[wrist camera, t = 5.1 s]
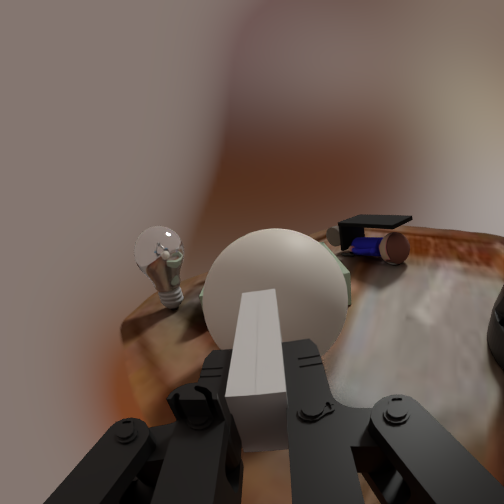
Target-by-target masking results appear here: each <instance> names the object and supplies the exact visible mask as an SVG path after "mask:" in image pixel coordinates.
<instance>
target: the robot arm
mask: <svg viewBox="0 0 504 504" xmlns="http://www.w3.org/2000/svg"><path fill="white" fill-rule="evenodd" d="M487 337H488V343H489V347H490V350H491V352H492V354H493V356H494V358H495V359H496V361H497V362H498V363H499V365H500V366H501V367H502V368H503V370H504V285H503V287H502V289H501V292H500V294H499V296H498V298H497V300H496V302H495V304H494V307H493V310H492V314H491V318H490V322H489V326H488V332H487ZM167 402H168V404H169V406H170V408H171V410H172V412H173V414H174V416H175V417H176V419H177V420H176V422H174V423H171V424H167V425H162V426H156V427H150V428H148V426H147V425H146V423H145V422H144V421H142V420H140V419H136V418H127V419H122V420H120V421H118V422H116V423H115V424H113V425H112V426H111V427H110V428H109V429H108V430H107V432H106V433H105V434H104V435H103V436H102V437H101V438H100V439H99V441H98V442H97V443H96V444H95V445H94V446H93V448H92V449H91V450H90V451H89V452H88V453H87V454H86V456H85V457H84V458H83V459H82V460H81V461H80V462H79V464H78V465H77V466H76V467H75V468H74V469H73V470H72V472H71V473H70V474H69V475H68V476H67V477H66V478H65V480H64V481H63V482H62V483H61V484H60V485H59V486H58V487H57V489H56V490H55V491H54V492H53V493H52V494H51V495H50V497H49V498H48V499H47V500H46V501H45V502H44V503H43V504H241V497H242V483H243V468H244V466H243V461H242V459H241V446H242V448H243V450H244V452H260V451H273V450H283V449H289V458H290V473H291V489H292V504H365V503H364V499H363V495H362V491H361V487H360V482H359V478H358V474H357V473H362V475H363V477H364V478H365V480H366V481H367V483H368V484H369V486H370V487H371V489H372V491H373V492H374V494H375V495H376V497H377V498H378V500H379V501H380V503H381V504H504V487H503V486H502V485H501V484H500V483H499V482H498V481H497V480H496V479H495V478H494V477H493V476H492V475H491V474H490V473H489V472H488V471H487V470H486V469H485V468H484V467H483V466H482V465H481V464H480V463H479V462H478V461H477V460H476V459H475V458H474V457H473V456H472V455H471V454H470V453H469V452H468V451H467V450H466V449H465V448H464V447H463V446H462V445H461V444H460V443H459V442H458V441H457V440H456V439H455V438H454V437H453V436H452V435H451V434H450V433H449V432H448V431H447V430H446V429H445V428H444V427H443V426H442V425H441V424H440V423H439V422H438V421H437V420H436V419H435V418H434V417H433V416H432V415H431V414H430V413H429V412H428V411H427V410H426V409H425V408H424V407H423V406H421V405H420V404H419V403H418V402H417V401H416V400H414V399H413V398H411V397H409V396H405V395H390V396H387V397H384V398H382V399H381V400H379V401H378V402H377V403H376V404H375V405H374V407H373V408H351V407H347V406H344V405H342V404H340V403H339V402H337V401H336V400H335V399H334V398H333V396H332V394H331V391H330V388H329V384H328V381H327V377H326V374H325V370H324V367H323V364H322V360H321V357H320V353H319V350H318V347H317V345H316V344H315V343H314V342H313V341H311V340H310V339H302V340H295V341H289V342H282V336H281V328H280V321H279V313H278V306H277V298H276V291H275V289H269V290H262V291H254V292H246V293H242V297H241V303H240V309H239V315H238V321H237V327H236V333H235V339H234V345H233V349H225V350H213V351H212V352H211V353H210V354H209V355H208V356H207V357H206V358H205V360H204V363H203V367H202V370H201V373H200V378H199V380H198V383H189V384H185V385H183V386H180V387H178V388H176V389H175V390H174V391H172V392H171V393H170V394H169V396H168V397H167Z"/></svg>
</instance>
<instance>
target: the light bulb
mask: <svg viewBox="0 0 504 504" xmlns="http://www.w3.org/2000/svg"><path fill="white" fill-rule="evenodd" d="M134 256H135V261H136V263H137V266H138V267H139V268H140V270H141V271H142V272H143V273H144V274H145V275H146V276H147V277H148V278H149V279H150V280H151V281H152V283H153V285H154V287H155V289H156V290H157V291H158V294H159V296H160V299H161V303H162V304H163V305H164V306H166V307H167V308H170V309H172V310H174V309H177V308H178V307H179V305H180V304H181V302H182V300H183V295H182V292H181V288H180V287H179V286H180V270H181V266H182V263H183V259H184V246H183V243H182V241H181V239H180V237H179V236H178V235H177V234H176V233H175V232H174V231H173V230H171V229H169V228H167V227H164V226H154V227H151V228H149V229H146V230H145V231H143V232H142V234H141V235H140V236H139V238H138V239H137V241H136V243H135V248H134Z"/></svg>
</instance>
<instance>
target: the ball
mask: <svg viewBox="0 0 504 504" xmlns="http://www.w3.org/2000/svg"><path fill="white" fill-rule="evenodd" d="M269 289H275V291H276V298H277V306H278V313H279V321H280V328H281V336H282V342H289V341H295V340H302V339H310V340H311V341H313V342H314V343H315V344H316V345H317V347H318V350H319V353H320V357H321V356H323V355H324V354H325V353H326V352H327V351H328V350H329V349H330V347H331V346H332V345H333V344H334V342H335V341H336V339H337V338H338V336H339V334H340V332H341V330H342V328H343V325H344V322H345V319H346V314H347V309H348V294H347V286H346V282H345V278H344V276H343V273H342V271H341V269H340V267H339V265H338V263H337V262H336V260H335V258H334V257H333V256H332V255H331V254H330V252H329V251H328V250H327V249H326V248H325V247H323V246H322V245H321V244H320V243H319V242H317V241H315V240H314V239H312V238H311V237H309V236H307V235H304V234H302V233H299V232H296V231H292V230H287V229H265V230H260V231H255V232H252V233H250V234H247V235H245V236H243V237H241V238H239V239H237V240H236V241H235V242H233V243H232V244H230V245H229V246H228V247H227V248H226V249H225V250H224V251H223V252H222V253H221V254H220V255H219V256H218V258H217V259H216V260H215V262H214V263H213V265H212V267H211V269H210V271H209V273H208V275H207V278H206V281H205V285H204V290H203V300H202V302H203V312H204V317H205V322H206V325H207V328H208V330H209V332H210V334H211V336H212V338H213V339H214V341H215V343H216V344H217V345H218V346H219V348H220V349H221V350H225V349H233V345H234V339H235V333H236V327H237V321H238V315H239V309H240V303H241V297H242V293H246V292H254V291H262V290H269Z"/></svg>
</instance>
